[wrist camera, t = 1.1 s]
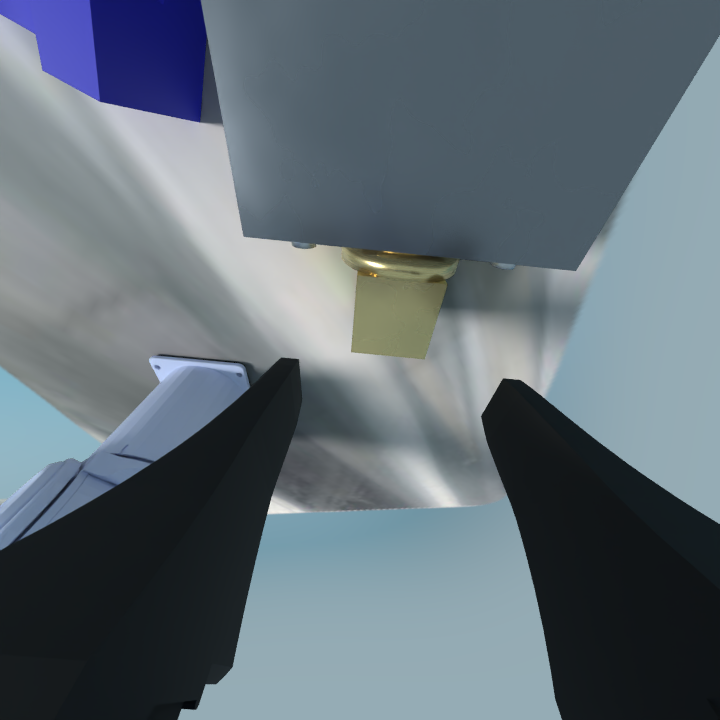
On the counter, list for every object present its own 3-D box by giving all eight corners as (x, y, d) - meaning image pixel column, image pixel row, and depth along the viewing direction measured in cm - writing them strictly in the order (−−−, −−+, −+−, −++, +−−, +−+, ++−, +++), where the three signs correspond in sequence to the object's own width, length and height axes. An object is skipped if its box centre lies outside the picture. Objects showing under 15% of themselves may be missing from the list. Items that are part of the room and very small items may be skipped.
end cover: (425, 310, 18) (442, 363, 13) (344, 302, 18) (333, 352, 13) (482, 98, 11) (555, 58, 7) (355, 84, 11) (341, 33, 7)
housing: (497, 240, 15) (566, 286, 10) (294, 219, 15) (247, 254, 9) (590, -1, 10) (864, -202, 4) (277, -38, 10) (145, -299, 4)
